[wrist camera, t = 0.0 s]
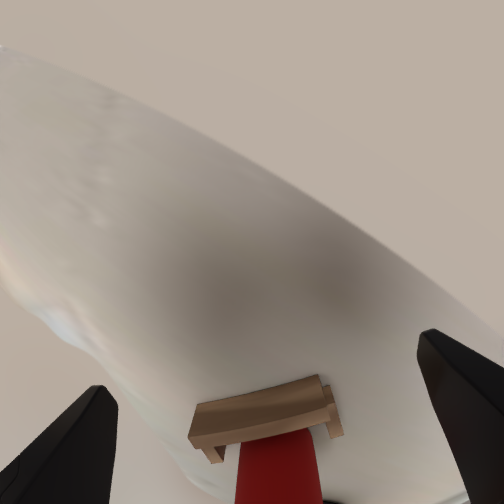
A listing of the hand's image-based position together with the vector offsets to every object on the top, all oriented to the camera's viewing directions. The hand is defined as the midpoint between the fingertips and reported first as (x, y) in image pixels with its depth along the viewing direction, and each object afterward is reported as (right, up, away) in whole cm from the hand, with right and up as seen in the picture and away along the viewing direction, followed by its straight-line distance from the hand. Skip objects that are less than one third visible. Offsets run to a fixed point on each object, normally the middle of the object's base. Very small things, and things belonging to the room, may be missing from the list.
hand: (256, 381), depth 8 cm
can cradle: (+1, -11, +18) cm, 21 cm away
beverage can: (+2, -14, +19) cm, 24 cm away
